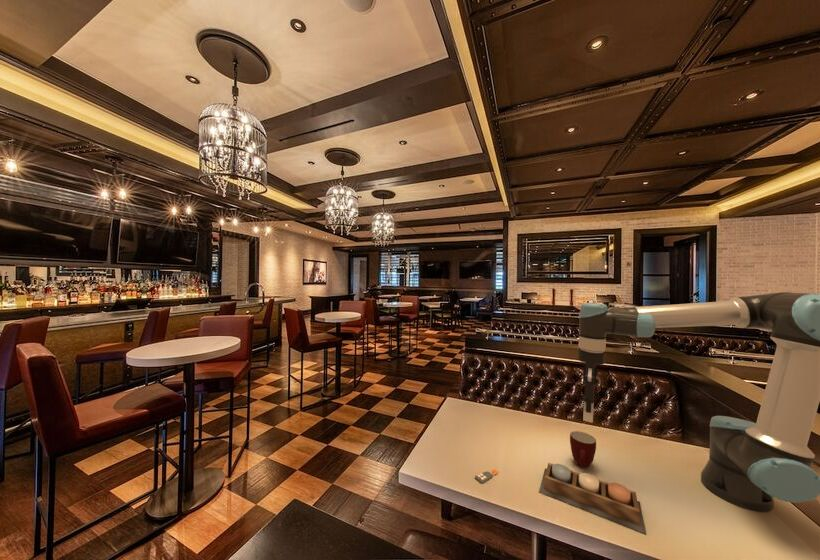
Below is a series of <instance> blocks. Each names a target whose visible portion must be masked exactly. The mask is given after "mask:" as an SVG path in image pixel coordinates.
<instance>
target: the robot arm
mask: <svg viewBox="0 0 820 560" xmlns="http://www.w3.org/2000/svg"><path fill="white" fill-rule="evenodd" d="M579 312H580V313H579V325H578V327H579V329H578V337H576V342H578V349H577V359H578V361H579V362H582V363H585V364H586V365H583V368H582V372H583V381H584V393H583V394H584V396H583V397H584V398H581V401H582V402H583V411H582V412H583V413H582V414H583V416H582V417H583V418H582V421H585V422H588V423H594V408H595V407H594V405H595V402H596V401H597V399H596V398H594V397H595V394H594V393H595V384H596V383H597V376H598V369H599V368H598V367H596V365H597V366H600V365H604V364H605V362H606V353H605V351H606V350H607V349H606V348H607V346H606V344H607V334H609V335H618V336H627V337H637V338H652V337H653V335H654V334H655V332H656V328H658V329H659V328H661V329H662V328H683V327H686V328H689V327H714V326H715V327H716V326H718V327H719V326H736V327H737V328H739V329H746V328H748V329H749V328H752V329H762V330H763V329H764V330H769V331H770V330H771V333H770V337H769V338H770V339H771V340H772V341H773V342H774V343H775V344H776V349H775V352H774V356H773V359H772V364H771V367H770V370H769V374H768V378H767V382H766V384H765V385H766V386H765V389H764V393H763V396H762V400H761V404H760V406H759V407H760V409H759V412H758V414H757V420H756V422H752V421H750V420H746V419H741V418H736V417H732V416H727V415H726V416H725V415H715V416H712V417H711V419H710V422H709V453H708V455H709V456H708V457H709V458H708V460H707V462H706V464H705V466H704V468H703V469H702V470H701V474H700V481H701V483H702V485H703V486H704V487H705V488H706V489H707V490H709V491H710V492H711V493H712V494H714V495H715V496H717V497H719V498H721V499H722V500H725V501H727V502H728V503H732V504H733V505H736V506H738V507H741V508H744V509H747V510H751V511H756V512H762V513H763V512H764V513H765V512H766V513H768V512H769V513H770V512H772V511H773V510H774V507H775V499H777V500H780V501H783V502H788V503H793V504H797V503H798V504H800V503H803V502H811V501H814V500H816V499H817V498H818V497H820V476H819V474H817V472H816V471H815V470H814V469H813V464H814V461H815V458H816V455H815V454H814V453H813V451H812V450H811V449H810V448H809V447H808V443H809V439H810V436H811V432H812V429H813V426H814V422H815V418H816V415H817V412H818V408H819V405H820V293H814V292H813V293H805V292H803V293H801V292H788V291H786V292H785V291H783V292H774V293H773V292H771V293H764V294H763V293H762V294H757V295H748V296H738V297H737V296H736V297H735V296H734V297H731V298H730V299H729V300H724V301H723V300H722V301H721V300H720V301H710V302H707V301H706V302H695V303H694V302H692V303H679V304H678V303H677V304H662V305H661V304H660V305H659V304H658V305H647V306H646V305H644V306H633V307H631V306H630V307H618V306H615V307H614V306H612V307H610V308H608V305H606V304H604V303H597V302H594V303H593V302H584V303H582V304H581V305H580V310H579ZM774 498H775V499H774Z"/></svg>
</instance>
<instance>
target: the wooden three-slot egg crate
mask: <svg viewBox="0 0 820 560" xmlns="http://www.w3.org/2000/svg"><path fill="white" fill-rule="evenodd" d="M554 464H555V463H554ZM554 464H553V463H550V462H548V463H547V467H546V468H544V471H543V474H542V475H543V476H542V478H541V483H540V487H539V489H538V493H540V494H542V495H545V496H547V497H550V498H552V499H555V500H557V501H560V502H561V503H564V504H567V505H570V506H572V507H574V508H577V509H579V510H582V511H584V512H586V513H590V514H592V515H594V516H597V517H599V518H602V519H604V520H607V521H610V522H613V523H615V524H618V525H620V526H623V527H625V528H626V529H627V528H628V529H630V530H632V531H635V532H638V533H640V534H643V535H645V536H647V531H646V526H645V521H644V515H643V510H642V506H641V501H640V500H638V498H637V497H638V496H637V492H636V491H633V490H631V489H628V490H629V491H630V506H628V505H625V504H623V503H620V502H617V501H614V500H612V499H609V498H608V484H609V483H610V482H607V481H603V480H601V479H598V480H599V494H595V493H592V492H590V491H587V490H584V489H581V488H579V474H580V473H581V472H577V471H574V470H571V469H569V470H570V472H571V474H570V484H568V483H565V482H562V481H559V480H557V479H554V478H552V466H553V465H554Z"/></svg>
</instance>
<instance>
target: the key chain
mask: <svg viewBox="0 0 820 560" xmlns="http://www.w3.org/2000/svg"><path fill="white" fill-rule="evenodd" d="M499 473H502V471H501V470H498V471H497V469H492V470H491V472H490V471H483V472H482V473H479V474H477V475H475V476H474V479H475V480H476V481H477V482H478V483H480V484H481V485H483V484H485V483H487V482H488V481H490V480H491V479H493V477H494V475H497V476H498V475H499Z"/></svg>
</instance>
